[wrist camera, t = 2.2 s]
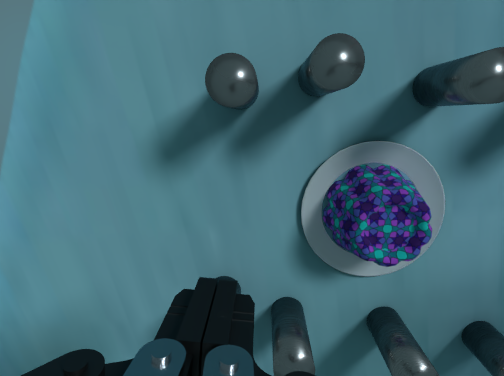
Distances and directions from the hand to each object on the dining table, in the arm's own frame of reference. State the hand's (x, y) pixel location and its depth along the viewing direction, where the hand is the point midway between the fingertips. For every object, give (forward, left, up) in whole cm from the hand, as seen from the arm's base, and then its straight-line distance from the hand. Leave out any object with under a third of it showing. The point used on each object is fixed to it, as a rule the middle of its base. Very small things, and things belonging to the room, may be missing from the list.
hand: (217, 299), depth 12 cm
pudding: (-11, 0, -16) cm, 19 cm away
